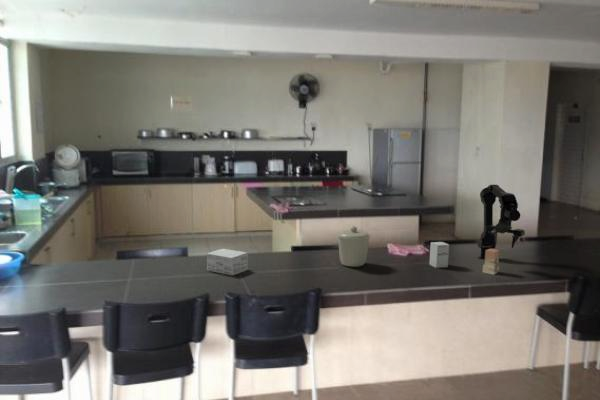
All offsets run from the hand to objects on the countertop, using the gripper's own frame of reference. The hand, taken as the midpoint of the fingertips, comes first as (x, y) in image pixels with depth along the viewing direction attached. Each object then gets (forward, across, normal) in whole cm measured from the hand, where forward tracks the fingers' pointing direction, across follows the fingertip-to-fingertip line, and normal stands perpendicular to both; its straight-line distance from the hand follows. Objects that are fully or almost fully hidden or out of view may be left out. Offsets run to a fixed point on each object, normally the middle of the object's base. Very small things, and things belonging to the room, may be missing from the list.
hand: (503, 246), depth 273 cm
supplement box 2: (+13, -100, -106) cm, 146 cm away
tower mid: (+9, -2, -10) cm, 13 cm away
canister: (+13, -61, -51) cm, 80 cm away
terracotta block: (+5, -2, -10) cm, 11 cm away
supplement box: (+13, -27, -19) cm, 35 cm away
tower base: (+13, -2, -10) cm, 16 cm away
